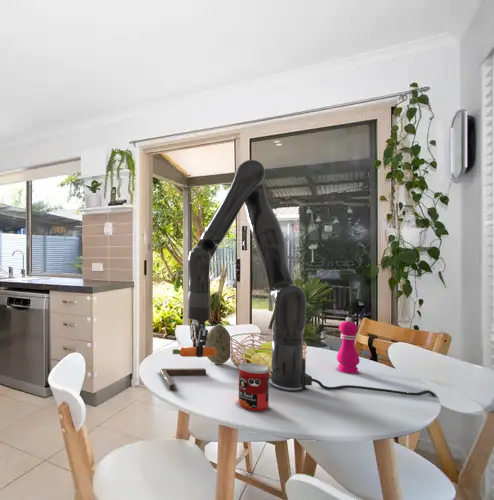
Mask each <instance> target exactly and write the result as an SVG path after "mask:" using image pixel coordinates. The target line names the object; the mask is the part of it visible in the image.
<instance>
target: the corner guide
mask: <svg viewBox="0 0 494 500" xmlns="http://www.w3.org/2000/svg"><path fill="white" fill-rule="evenodd" d="M159 371H160V372H159V373H160V377H161V378H162V380H163V381H164V384H165V385H166V386H167V388H168V390H169V391H175V390H176V384H175V383H174V381H173V380H172V378H171V376H206V375H207V369H206V368H204V367H202V368H201V367H200V368H195V367H194V368H160V370H159Z"/></svg>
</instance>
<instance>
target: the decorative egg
mask: <svg viewBox="0 0 494 500" xmlns="http://www.w3.org/2000/svg"><path fill="white" fill-rule="evenodd" d="M230 337H231V334H230V333H229V331H228V330H227V329H226V327H225V326H223V325H221V324H216V325H214V326H212V328H210V329H209V330H208V335H207V340H206V345H204V346H203V347H214V348H215V349H216V351H217V354H216V355H215V356H214V357H206V358H207V359H208V360H209V361H210V362H211V363H213V364H216V365H222V364H224V363H227V361H229V360H230V358H231V357H230Z"/></svg>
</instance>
